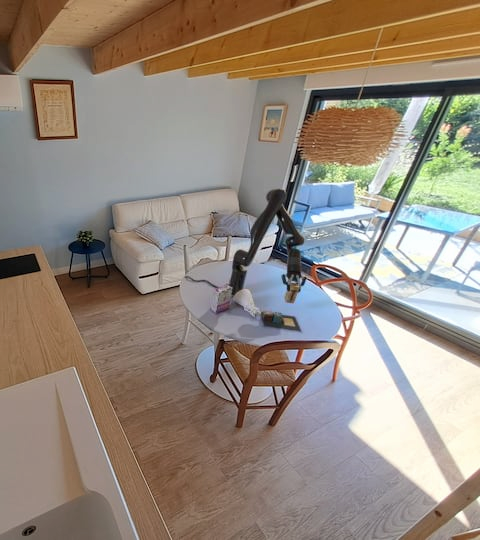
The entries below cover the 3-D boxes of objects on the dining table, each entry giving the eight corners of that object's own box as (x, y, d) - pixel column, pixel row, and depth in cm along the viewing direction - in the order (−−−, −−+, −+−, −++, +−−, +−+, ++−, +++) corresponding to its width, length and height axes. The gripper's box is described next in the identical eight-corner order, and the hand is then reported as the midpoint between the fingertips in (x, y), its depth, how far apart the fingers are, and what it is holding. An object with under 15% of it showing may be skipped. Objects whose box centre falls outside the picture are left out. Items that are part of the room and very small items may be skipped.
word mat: (264, 326, 170) (264, 326, 170) (260, 312, 182) (260, 311, 181) (301, 332, 165) (301, 331, 165) (294, 317, 177) (294, 316, 177)
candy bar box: (223, 304, 189) (227, 284, 181) (228, 308, 185) (233, 287, 177) (210, 309, 185) (214, 288, 177) (215, 313, 181) (220, 292, 173)
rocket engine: (263, 306, 171) (246, 286, 184) (246, 317, 174) (230, 296, 187) (268, 314, 178) (251, 293, 191) (252, 324, 181) (236, 303, 194)
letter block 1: (263, 320, 174) (264, 314, 172) (261, 316, 178) (263, 310, 176) (271, 321, 173) (273, 315, 171) (269, 317, 177) (271, 311, 175)
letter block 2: (272, 322, 173) (274, 316, 171) (271, 317, 177) (273, 311, 174) (280, 323, 172) (283, 317, 170) (279, 318, 176) (281, 312, 173)
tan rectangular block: (285, 302, 177) (291, 286, 171) (284, 298, 181) (289, 282, 175) (293, 303, 176) (299, 287, 170) (291, 299, 180) (297, 283, 174)
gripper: (304, 268, 179) (303, 294, 175) (279, 265, 182) (278, 291, 178) (309, 264, 172) (309, 292, 168) (283, 262, 175) (282, 289, 171)
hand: (293, 291), depth 173 cm, fingers closed on tan rectangular block, 4 cm apart
